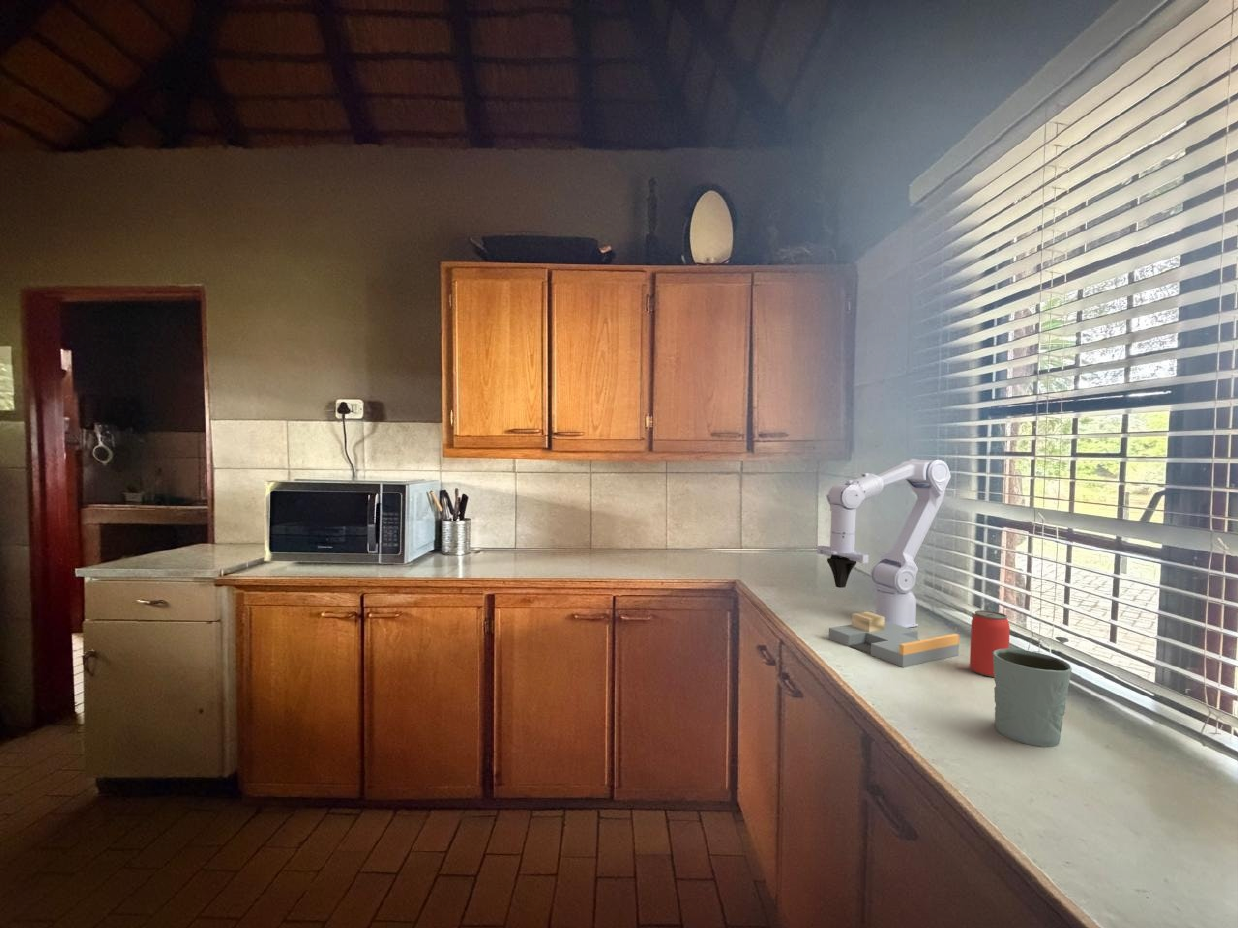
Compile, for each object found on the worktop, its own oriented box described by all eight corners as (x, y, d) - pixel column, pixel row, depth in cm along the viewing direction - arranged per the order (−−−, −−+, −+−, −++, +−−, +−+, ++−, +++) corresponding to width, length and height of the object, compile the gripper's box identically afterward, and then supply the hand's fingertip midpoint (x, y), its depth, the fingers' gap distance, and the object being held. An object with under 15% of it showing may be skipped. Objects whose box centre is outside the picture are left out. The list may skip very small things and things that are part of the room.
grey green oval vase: (976, 724, 97) (979, 651, 97) (1016, 715, 101) (1019, 645, 101) (1041, 754, 88) (1044, 674, 87) (1083, 742, 92) (1086, 665, 91)
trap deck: (881, 629, 148) (882, 611, 148) (958, 655, 130) (959, 635, 130) (828, 638, 140) (829, 619, 140) (902, 667, 122) (903, 645, 122)
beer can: (972, 675, 119) (975, 615, 119) (967, 664, 125) (969, 607, 125) (1011, 680, 116) (1013, 619, 116) (1003, 669, 122) (1006, 611, 122)
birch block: (866, 623, 144) (867, 611, 144) (884, 629, 140) (884, 616, 140) (851, 626, 142) (852, 613, 142) (869, 632, 138) (869, 619, 138)
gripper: (809, 529, 153) (807, 581, 153) (854, 537, 140) (852, 594, 140) (829, 528, 156) (827, 579, 156) (875, 536, 143) (873, 592, 143)
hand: (840, 586), depth 148 cm, fingers closed
